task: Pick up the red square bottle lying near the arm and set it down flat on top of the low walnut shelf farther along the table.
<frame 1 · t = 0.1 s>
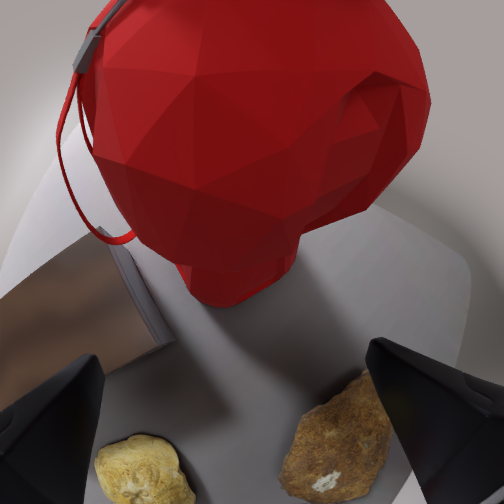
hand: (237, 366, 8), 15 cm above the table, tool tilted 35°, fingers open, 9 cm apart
shelf: (74, 338, 20), on the table
fossil: (146, 476, 18), on the table
water bottle: (219, 254, 24), on the table
decorative rock: (337, 437, 21), on the table
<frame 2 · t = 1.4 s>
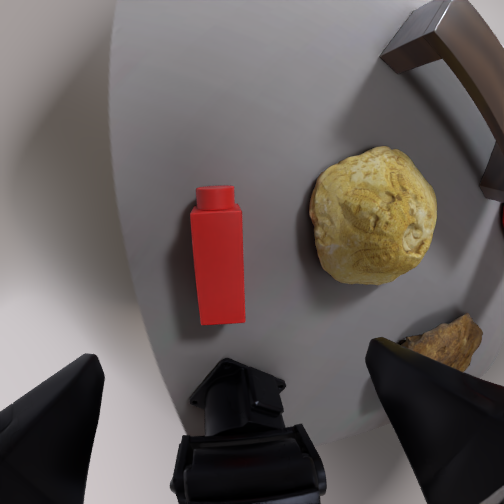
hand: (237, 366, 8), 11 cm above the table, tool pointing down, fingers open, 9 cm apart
shelf: (461, 103, 16), on the table
fossil: (377, 213, 19), on the table
decorative rock: (430, 348, 25), on the table
red square bottle: (218, 256, 18), on the table
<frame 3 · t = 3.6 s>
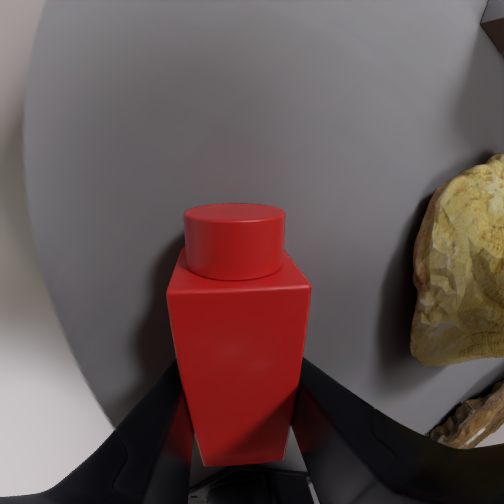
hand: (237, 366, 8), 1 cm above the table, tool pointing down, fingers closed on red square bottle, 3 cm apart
fossil: (481, 256, 10), on the table
decorative rock: (478, 402, 16), on the table
red square bottle: (233, 346, 9), on the table, touching gripper
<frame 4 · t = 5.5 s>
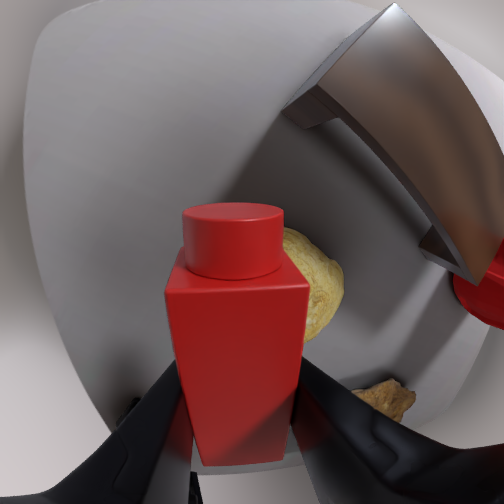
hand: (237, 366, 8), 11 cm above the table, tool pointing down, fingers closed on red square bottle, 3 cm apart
shelf: (401, 152, 18), on the table
fossil: (266, 290, 20), on the table
water bottle: (471, 260, 23), on the table
decorative rock: (354, 403, 26), on the table
red square bottle: (233, 346, 9), point 10 cm above the table, touching gripper
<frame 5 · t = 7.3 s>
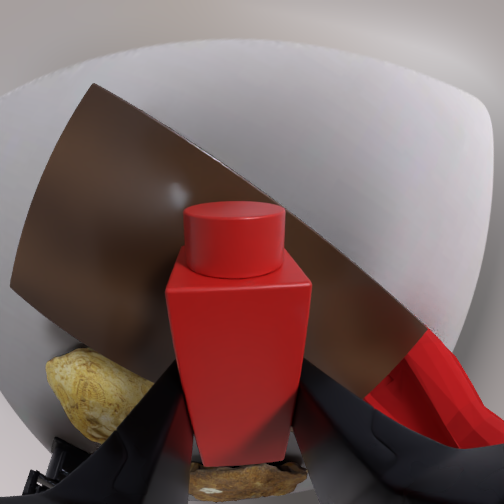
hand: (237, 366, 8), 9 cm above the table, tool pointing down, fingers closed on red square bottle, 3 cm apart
shelf: (225, 263, 16), on the table
fossil: (108, 388, 18), on the table
water bottle: (380, 356, 21), on the table
decorative rock: (242, 468, 25), on the table
red square bottle: (233, 345, 9), point 8 cm above the table, touching gripper
when the fingers open (8 cm above the table, at t = 7.9 s): red square bottle stays where it is, resting on shelf.
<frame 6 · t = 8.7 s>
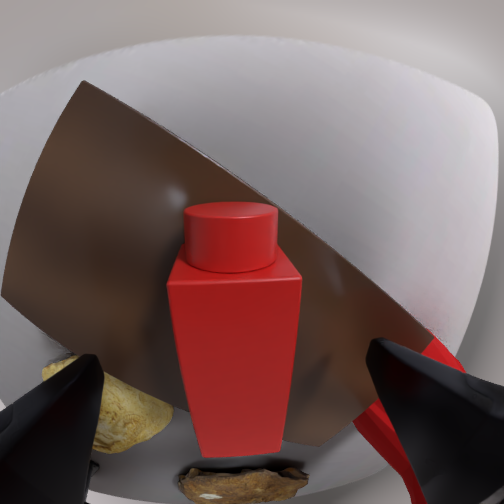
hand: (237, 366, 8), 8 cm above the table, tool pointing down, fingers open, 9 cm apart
shelf: (225, 270, 15), on the table
fossil: (106, 395, 18), on the table
water bottle: (383, 362, 20), on the table
decorative rock: (242, 474, 24), on the table
red square bottle: (231, 339, 9), point 7 cm above the table, touching shelf
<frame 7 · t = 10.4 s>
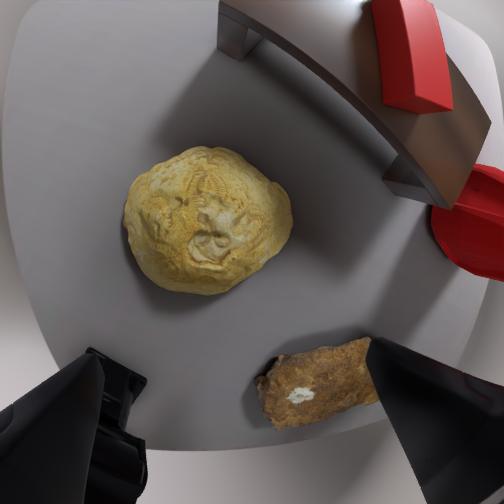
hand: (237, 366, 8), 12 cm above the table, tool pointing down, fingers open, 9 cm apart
shelf: (349, 80, 17), on the table
fossil: (207, 219, 19), on the table
water bottle: (453, 206, 21), on the table
decorative rock: (328, 370, 25), on the table
red square bottle: (397, 55, 10), point 7 cm above the table, touching shelf
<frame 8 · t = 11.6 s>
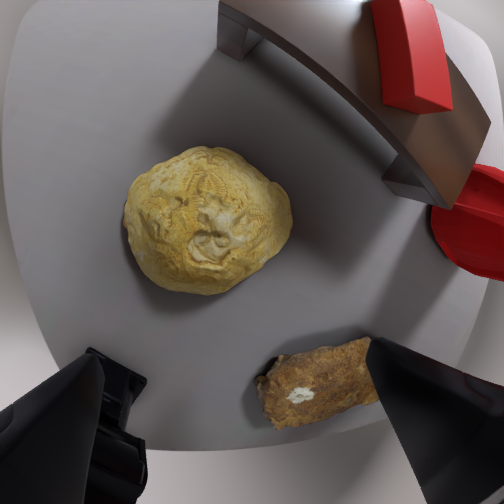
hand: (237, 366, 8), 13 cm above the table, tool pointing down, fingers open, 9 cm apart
shelf: (348, 80, 17), on the table
fossil: (207, 219, 19), on the table
water bottle: (453, 206, 21), on the table
decorative rock: (328, 370, 25), on the table
red square bottle: (397, 55, 10), point 7 cm above the table, touching shelf
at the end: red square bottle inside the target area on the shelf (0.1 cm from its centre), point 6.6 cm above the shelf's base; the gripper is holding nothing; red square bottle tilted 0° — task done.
